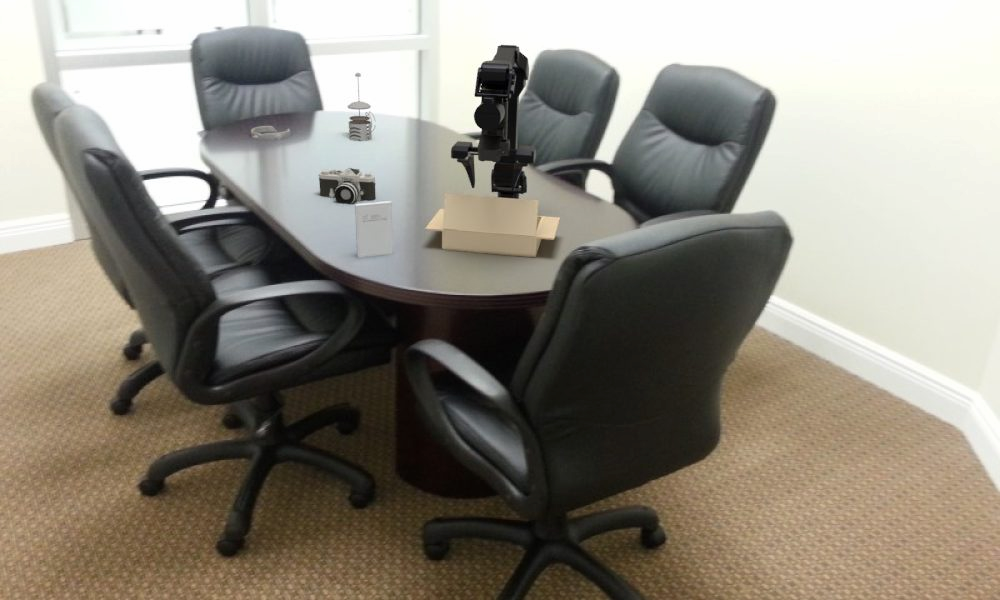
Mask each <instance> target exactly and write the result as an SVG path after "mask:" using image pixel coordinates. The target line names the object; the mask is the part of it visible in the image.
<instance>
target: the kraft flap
mask: <svg viewBox="0 0 1000 600" xmlns="http://www.w3.org/2000/svg"><path fill="white" fill-rule="evenodd" d="M539 200H540V199H527V198H526V199H525V198H519V199H514V198H500V197H498V196H487V195H486V196H484V195H472V194H471V195H469V194H468V195H467V194H454V193H444V202H443V203H444V206H443V209H444V216H443V229H456V230H469V231H482V232H495V233H509V234H522V235H535V236H536V227H537V216H539V215H538V213H539V212H538V211H539Z"/></svg>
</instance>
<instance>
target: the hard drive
mask: <svg viewBox="0 0 1000 600" xmlns="http://www.w3.org/2000/svg"><path fill="white" fill-rule="evenodd" d="M354 209H355V210H354V211H355V213H354V214H355V231H356V234H355V235H356V254H357V255H356V256H357V258H367V257H375V256H382V255H392V254H394V236H393V235H394V230H393V228H394V227H393V202H392V200H381V201H369V202H359V203H355V204H354Z"/></svg>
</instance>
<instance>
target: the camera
mask: <svg viewBox="0 0 1000 600" xmlns="http://www.w3.org/2000/svg"><path fill="white" fill-rule="evenodd" d="M320 171H321V172H320V173H318V181H319V195H320V196H321V197H323V198H335V200H336V202H337V203H339V204H343V205H344V204H345V205H352V204H354V203H355V202H360V201H367V202H368V201H369V202H374V201H375V200H376V198H377V197H376V196H377V195H376V176H374V175H372V173H371V172H366V173H365V174H362V171H361V170H360V169H359V168H352V167H348V168H346V169H344V170H343V171H342V170H337V169H327V168H326V169H321V170H320Z"/></svg>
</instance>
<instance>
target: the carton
mask: <svg viewBox="0 0 1000 600" xmlns="http://www.w3.org/2000/svg"><path fill="white" fill-rule="evenodd" d="M443 216H444V208H440V209H438V211H437V212H436V213H435V214H434V216H433V218H432V219H431V220H430V222H429V223H428V224H427V226H426V227H425V231H434V232H441V249H442V250H443V249H444V251H453V250H457V251H456V252H464V251H467V252H466V253H474V252H477V253H478V254H485V253H488V254H487V255H501V256H514V257H524V258H537V255H538V251H539V248H540V245H541V242H542V240H548V241H550V240H552V241H554V240H555V238H556V234H557V231H558V228H559V223H560V220H561V217H559V216H558V217H555V216H543V215H537V227H536V236H535V235H522V234H509V233H495V232H482V231H469V230H456V229H443Z"/></svg>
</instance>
